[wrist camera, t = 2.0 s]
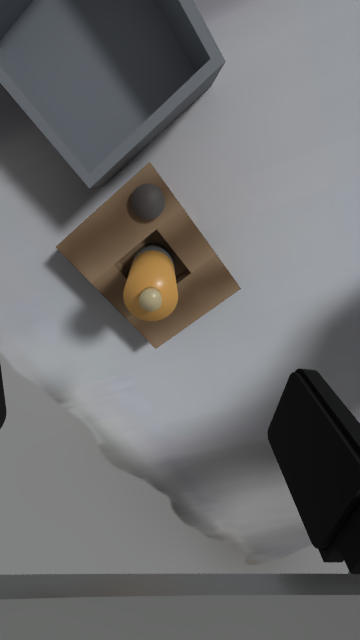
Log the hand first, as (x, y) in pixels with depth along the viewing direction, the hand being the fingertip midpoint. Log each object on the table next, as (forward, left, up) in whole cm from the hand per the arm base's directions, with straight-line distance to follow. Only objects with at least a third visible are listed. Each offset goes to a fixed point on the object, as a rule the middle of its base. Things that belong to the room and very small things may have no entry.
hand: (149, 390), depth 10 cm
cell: (-1, +1, -21) cm, 21 cm away
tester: (-1, +1, -23) cm, 23 cm away
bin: (+13, -6, -23) cm, 27 cm away
